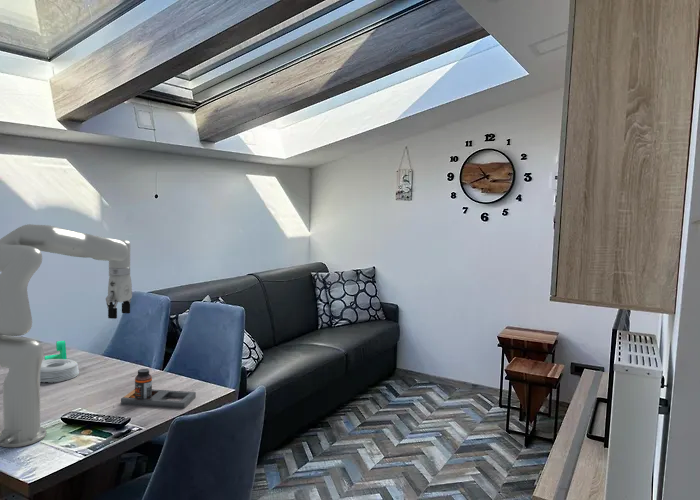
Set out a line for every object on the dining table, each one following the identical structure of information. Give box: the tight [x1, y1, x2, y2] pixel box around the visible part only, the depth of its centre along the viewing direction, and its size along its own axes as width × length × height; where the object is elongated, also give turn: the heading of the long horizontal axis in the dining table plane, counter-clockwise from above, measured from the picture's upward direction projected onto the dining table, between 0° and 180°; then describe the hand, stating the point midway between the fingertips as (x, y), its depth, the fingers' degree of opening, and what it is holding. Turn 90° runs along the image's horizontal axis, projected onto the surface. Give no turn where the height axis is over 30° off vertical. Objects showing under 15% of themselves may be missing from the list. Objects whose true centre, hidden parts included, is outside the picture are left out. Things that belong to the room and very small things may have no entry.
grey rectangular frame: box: [120, 388, 197, 409], centre depth 188 cm, size 11×24×2 cm, turn 86°
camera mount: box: [44, 340, 68, 360], centre depth 226 cm, size 12×8×10 cm, turn 36°
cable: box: [40, 358, 80, 384], centre depth 209 cm, size 18×18×6 cm
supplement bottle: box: [134, 368, 153, 399], centre depth 188 cm, size 6×6×11 cm
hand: (119, 315), depth 193 cm, fingers open, 9 cm apart
